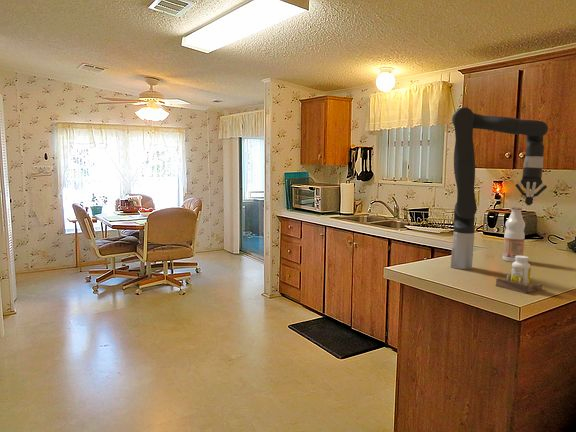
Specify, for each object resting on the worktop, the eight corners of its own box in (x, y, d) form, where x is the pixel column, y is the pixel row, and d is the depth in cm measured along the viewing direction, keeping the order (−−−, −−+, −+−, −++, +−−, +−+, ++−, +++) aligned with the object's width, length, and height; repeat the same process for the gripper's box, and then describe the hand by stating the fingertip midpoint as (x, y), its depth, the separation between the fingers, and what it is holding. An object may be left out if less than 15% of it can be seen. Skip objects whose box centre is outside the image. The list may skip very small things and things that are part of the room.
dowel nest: (512, 281, 177) (513, 270, 177) (541, 289, 167) (542, 276, 167) (495, 285, 171) (496, 273, 170) (525, 293, 161) (526, 280, 160)
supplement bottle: (523, 285, 172) (525, 255, 171) (532, 290, 166) (535, 258, 164) (507, 285, 172) (509, 254, 171) (515, 290, 166) (518, 258, 164)
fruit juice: (498, 259, 221) (502, 207, 217) (508, 257, 226) (512, 206, 223) (516, 263, 213) (521, 208, 210) (526, 261, 218) (530, 207, 215)
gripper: (516, 166, 188) (512, 204, 190) (550, 167, 182) (546, 207, 184) (516, 166, 194) (512, 203, 196) (549, 167, 188) (544, 205, 190)
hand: (528, 205), depth 190 cm, fingers closed
